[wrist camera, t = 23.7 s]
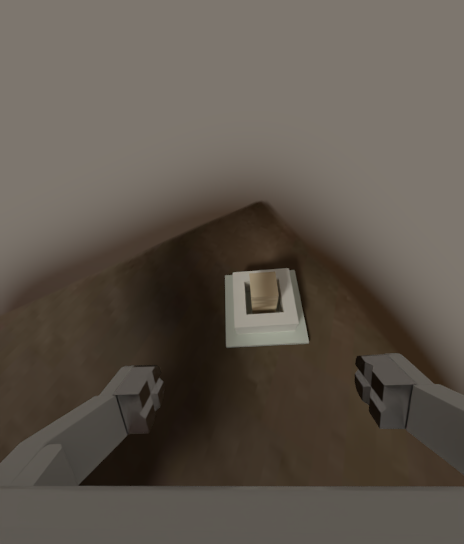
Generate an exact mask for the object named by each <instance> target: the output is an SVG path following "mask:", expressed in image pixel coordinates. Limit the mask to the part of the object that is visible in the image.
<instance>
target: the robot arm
mask: <svg viewBox="0 0 464 544" xmlns="http://www.w3.org/2000/svg"><path fill="white" fill-rule="evenodd" d="M355 365H356V366H357V368H358V369H359V370H358V371H357V372H356V373H355V385H356V389H357V392H358V394H359V396H360V398H361V399H362V401H364V402H365V403H367V404H368V405H369V412H370V414H371V415H372V417H373V419H374V420H375V422H376V423H377V425H378V427H379V428H380V429H406V430H407V431H408V432H409V433H411V434H412V435H413V436H414V437H416V438H417V439H418V440H420V441H421V442H422V443H423V444H425V445H426V446H427V447H429V448H430V449H431V450H432V451H434V452H435V453H436V454H438V455H439V456H440V457H441V458H443V459H444V460H445V461H447V462H448V463H449V464H450V465H452V466H453V467H454V468H456V469H457V470H458V471H460V472H461V473H462V474H463V475H464V395H462V394H460V393H457V392H455V391H453V390H451V389H449V388H446V387H444V386H442V385H440V384H433V383H432V382H431V381H430V380H429V379H428V378H427V377H426V376H425V375H424V374H422V373H421V372H420V371H419V370H418V369H417V368H416V367H415V366H414V365H413V364H411V363H410V362H409V361H408V360H407V359H406V358H405V357H404V356H403V355H401V354H399V353H392V354H384V355H365V356H357V358H356V363H355ZM160 375H161V370H160V366H158V365H137V366H124V367H122V368H121V369H120V370H119V371H118V373H117V374H116V375H115V376H114V378H113V379H112V380H111V381H110V383H109V384H108V385H107V386H106V388H105V389H104V390H103V391H102V393H101V394H100V395H99V396H95V397H93V398H91V399H90V400H88V401H87V402H85V403H83V404H82V405H80V406H79V407H77V408H75V409H74V410H72V411H71V412H69V413H67V414H66V415H64V416H63V417H61V418H59V419H58V420H56V421H55V422H53V423H51V424H50V425H48V426H47V427H45V428H43V429H42V430H40V431H39V432H37V433H35V434H34V435H32V436H31V437H29V438H27V439H26V440H24V441H23V442H21V443H20V444H19V445H18V446H17V447H16V448H15V449H14V450H13V451H12V452H11V453H10V454H9V455H8V456H7V457H6V458H5V459H4V460H3V461H2V462H1V463H0V544H464V487H427V486H78V485H79V484H80V483H81V482H82V481H83V480H84V479H85V478H86V477H87V476H88V475H89V474H90V473H91V472H92V471H93V470H94V469H95V468H96V467H97V466H98V465H99V464H100V463H101V462H102V461H103V460H104V459H105V458H106V457H107V456H108V455H109V454H110V453H111V452H112V451H113V450H114V449H115V448H116V447H117V446H118V445H119V443H120V442H121V441H122V440H123V439H124V438H125V437H126V436H127V434H140V433H149V432H150V430H151V427H152V425H153V423H154V420H155V418H156V414H155V411H156V410H157V409H158V408H160V407H161V404H162V402H163V398H164V393H165V391H164V382H163V381H162V380H161V379H160V378H159V377H160Z"/></svg>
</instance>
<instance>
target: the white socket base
mask: <svg viewBox="0 0 464 544" xmlns="http://www.w3.org/2000/svg"><path fill="white" fill-rule="evenodd" d="M262 272H275V273H276V280H277V287H278V294H279V297H278V302H277V307H276V313H264V314H253V313H252V303H251V291H250V277H249V273H262ZM225 310H226V347H227V348H233V347H253V346H272V345H291V344H308V343H309V339H308V334H307V329H306V324H305V319H304V314H303V309H302V304H301V299H300V294H299V289H298V284H297V279H296V274H295V270H289V268H282V269H270V270H258V271H246V272H233V275H225Z"/></svg>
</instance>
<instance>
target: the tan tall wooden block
mask: <svg viewBox="0 0 464 544" xmlns="http://www.w3.org/2000/svg"><path fill="white" fill-rule="evenodd" d="M249 277H250V291H251V303H252V313H253V314H264V313H276V307H277V302H278V297H279V294H278V287H277V280H276V273H275V272H262V273H249Z"/></svg>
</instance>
